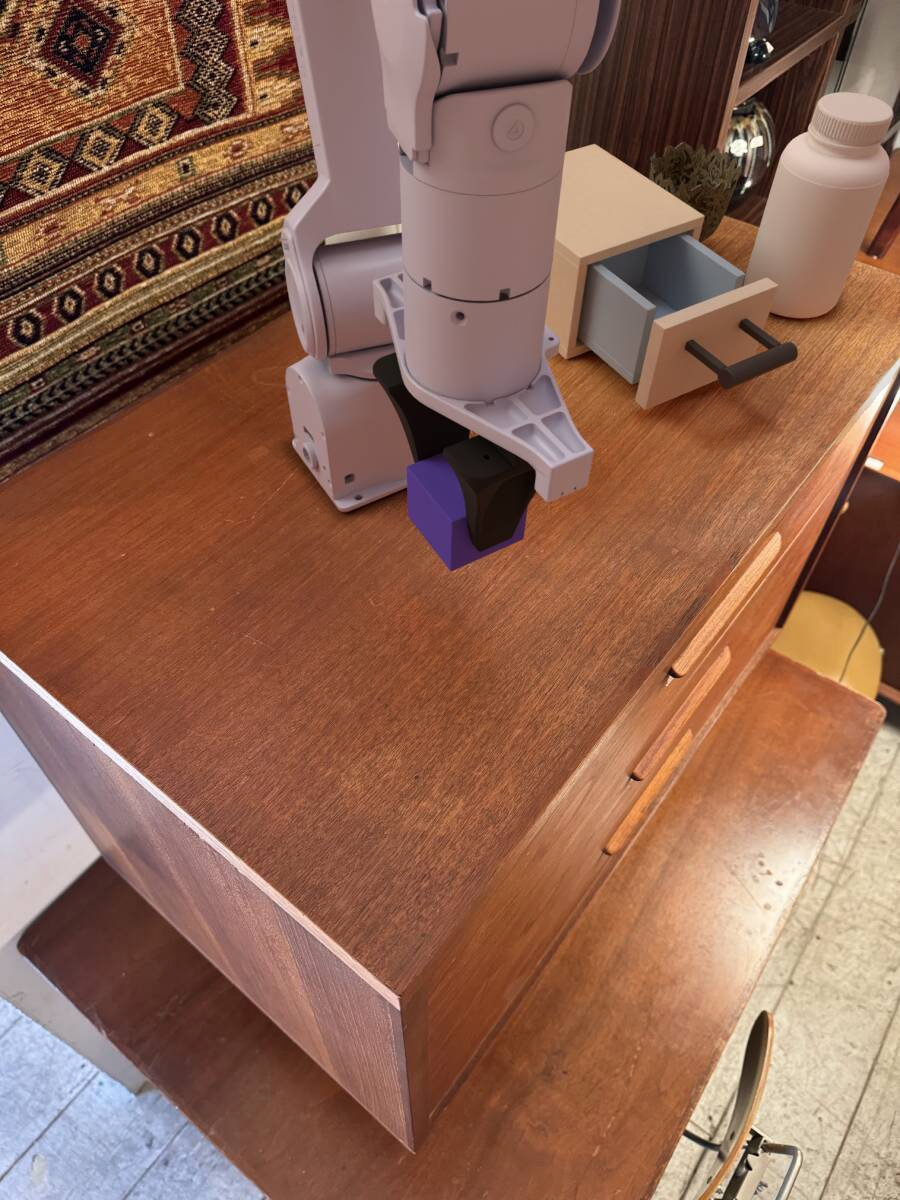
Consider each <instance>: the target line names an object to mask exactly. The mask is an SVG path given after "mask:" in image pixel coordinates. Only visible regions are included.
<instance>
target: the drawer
mask: <svg viewBox="0 0 900 1200" xmlns="http://www.w3.org/2000/svg"><path fill="white" fill-rule="evenodd" d="M745 274H746V272H744V271H743V270H741V269H740V268H738V267H737V266H735V265H733V264H732V263H731V262H729V261H728V260H726V259H725V258H723V257H722V256H720V255H719V254H717V253H716V252H715V251H713V250H712V249H711V248H709V247H707V246H706V245H705V244H703V243H702V242H701V243H700V242H698V241H697V240H696V239H694V238H693V237H691V236H690V235H688V234H687V233H685V232H683V233H680V234H677V235H674V236H671V237H668V238H665V239H662V240H659V241H656V242H653V243H650V244H647V245H645V246H642V247H639V248H636V249H633V250H630V251H627V252H624V253H621V254H618V255H615V256H612V257H609V258H606V259H603V260H601V261H598V262H595V263H592V264H589V265H587V273H586V279H585V286H584V293H583V299H582V306H581V313H580V319H579V326H578V333H577V338H578V339H580V340H581V341H582V342H583V343H584V344H585V345H586V346H588V347H589V348H590V349H591V350H590V351H593V353H594V354H595V355H597V356H598V357H599V358H600V359H601V360H603V361H604V362H605V363H606V364H607V365H608V366H609V367H610V368H612V370H614V371H615V372H617V374H619V375H620V376H621V377H622V378H624V379H625V380H626V382H628V384H630V385H635V384H637V383H638V385H637V391H636V395H635V398H634V401H635V403H636V404H637V405H638V406H640V407H641V408H642V409H643V410H644V411H647V410H650V409H652V408H655V407H657V406H659V405H661V404H663V403H666V402H668V401H670V400H673V399H675V398H677V397H680V396H683V395H685V394H687V393H690V392H692V391H694V390H696V389H699V388H701V387H705V386H706V385H709V384H710V383H713V382H716V381H717V382H718V384H719V386H720V387H721V388H722V389H724V390H731V389H733V388H735V387H737V386H739V385H742V384H745V383H747V382H749V381H751V380H753V379H756V378H758V377H761V376H763V375H765V374H767V373H770V372H772V371H774V370H777V369H780V368H782V367H783V366H786V365H788V364H791V363H793V362H795V361H796V360H797V359H798V356H799V351H798V347H797V345H796V344H795V343H793V342H792V341H785V342H783V343H781V342H780V341H778V340H777V339H776V338H775V337H773V336H771V334H769V333H767V332H766V331H765V330H764V329H765V327H766V323H767V321H768V318H769V315H770V313H771V312H770V309H771V306H772V304H773V301H774V298H775V295H776V292H777V289H778V286H779V285H777V284H776V283H774V282H773V281H772V280H770V279H769V278H764V279H761V280H759V281H756V282H753V283H751V284H748V285H746V286H744V279H745ZM759 344H760V345H761V346H763V347H764V348H765V349H767V350H764V351H762V352H760V353H757V350H758V347H759Z"/></svg>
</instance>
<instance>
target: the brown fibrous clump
mask: <svg viewBox="0 0 900 1200" xmlns="http://www.w3.org/2000/svg"><path fill="white" fill-rule="evenodd" d="M656 154H657V153H656V152H654V153H653V155H651V156H650V158H649V162H650V166H649V175H648V179H649V180H651V181H652V182H654V183H655V184H657V185H658V186H660V187H661V188H663V189H664V190H666V191H667V192H669V193H670V194H672V195H674V196H675V197H677V198H678V199H680V200H681V201H683V202H684V203H686V204H687V205H689V206H690V207H692V208H693V209H695V210H696V211H698V212H699V213H701V214H702V215H704V216H705V217H704V221H703V225H702V229H701V233H700V237H699V241H698V242H700V243H701V244H702V243H703V242H704V241H705V242H706V240H708V239H709V238H710V237H711V236H712V235H713V234H715V232H716V231H717V230H718V228H719V226H720V225H721V223H722V221H723V219H724V217H725V214H726V212H727V209H728V207H729V205H730V202H731V200H732V197H733V194H734V192H735V189H736V187H737V184H738V182H739V179H740V177H741V175H742V172H743V165H739V166H738V163H739V162H738V157H734V158H733V159H732V160H731V161H730V154H729V152H728V151H725V152H721V151H720V147H715V148H714V149H713V150H711V152H709V153H708V154H707V152H706V149H705V146H704V144H703V143H702V144H700V145H699V147H698V148H697V150H695V149H694V148H693V147H692V146H691V145H689V144H688V143H687V142H686V141H682V142H681V143H679V144H678V145H677V146H675V147H674V146H672V145H669V144H668V145H666V147H665V148H664V154H663V156H659V157H657V155H656ZM656 157H657V158H656Z"/></svg>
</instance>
